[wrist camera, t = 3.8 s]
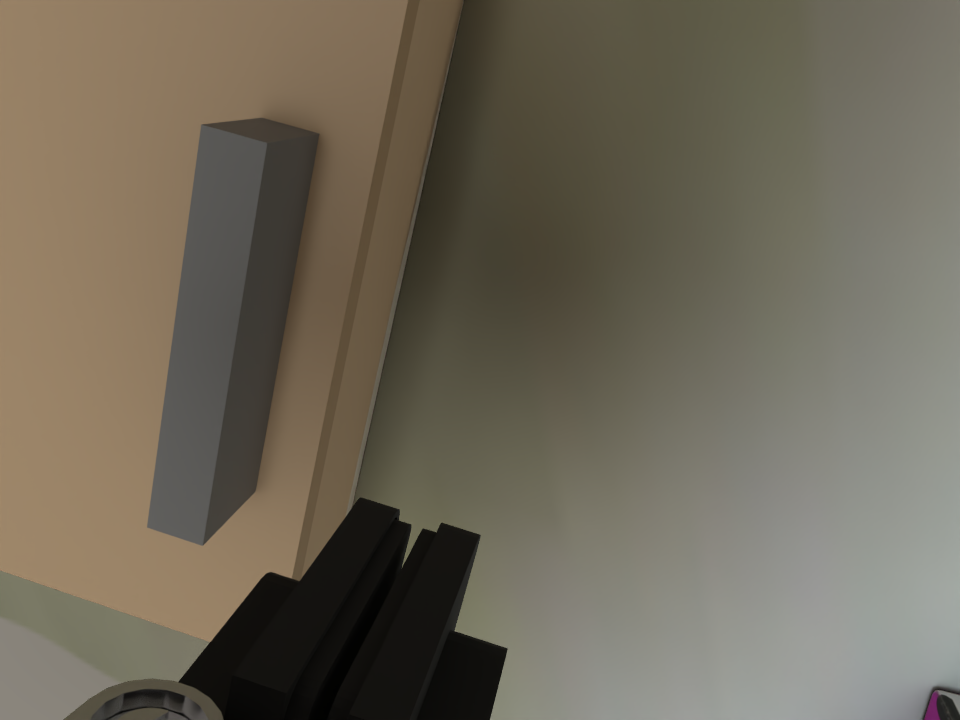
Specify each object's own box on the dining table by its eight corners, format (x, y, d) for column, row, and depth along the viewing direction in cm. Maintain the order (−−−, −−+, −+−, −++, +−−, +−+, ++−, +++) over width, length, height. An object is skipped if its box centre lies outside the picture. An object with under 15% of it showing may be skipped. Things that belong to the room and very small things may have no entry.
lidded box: (472, -39, 22) (420, -70, 17) (347, 530, 27) (281, 625, 23) (-257, -223, 24) (-482, -295, 19) (-242, 340, 29) (-413, 392, 25)
